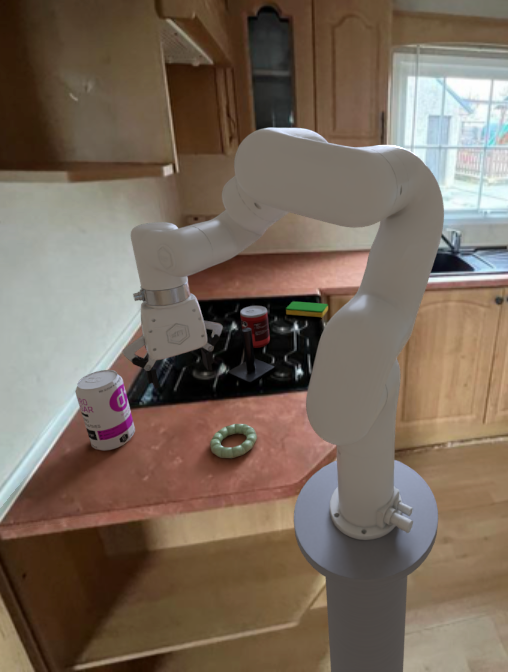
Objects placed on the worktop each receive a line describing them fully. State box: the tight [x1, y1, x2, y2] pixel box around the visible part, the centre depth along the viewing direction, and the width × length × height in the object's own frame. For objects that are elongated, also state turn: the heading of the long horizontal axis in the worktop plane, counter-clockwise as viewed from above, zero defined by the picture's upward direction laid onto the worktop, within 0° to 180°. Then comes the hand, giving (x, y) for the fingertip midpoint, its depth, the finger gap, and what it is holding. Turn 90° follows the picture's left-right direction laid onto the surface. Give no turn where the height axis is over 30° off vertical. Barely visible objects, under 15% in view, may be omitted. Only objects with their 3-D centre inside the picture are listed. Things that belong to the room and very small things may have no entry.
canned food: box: [240, 305, 271, 349], centre depth 127 cm, size 8×8×11 cm
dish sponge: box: [285, 301, 329, 318], centre depth 150 cm, size 7×14×2 cm, turn 79°
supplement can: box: [75, 369, 136, 451], centre depth 85 cm, size 8×8×15 cm
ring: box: [209, 423, 258, 459], centre depth 86 cm, size 9×9×2 cm
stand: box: [226, 328, 276, 387], centre depth 110 cm, size 9×9×13 cm
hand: (182, 375), depth 79 cm, fingers open, 9 cm apart
